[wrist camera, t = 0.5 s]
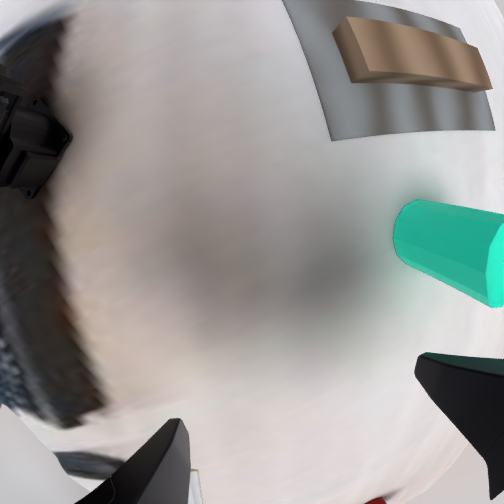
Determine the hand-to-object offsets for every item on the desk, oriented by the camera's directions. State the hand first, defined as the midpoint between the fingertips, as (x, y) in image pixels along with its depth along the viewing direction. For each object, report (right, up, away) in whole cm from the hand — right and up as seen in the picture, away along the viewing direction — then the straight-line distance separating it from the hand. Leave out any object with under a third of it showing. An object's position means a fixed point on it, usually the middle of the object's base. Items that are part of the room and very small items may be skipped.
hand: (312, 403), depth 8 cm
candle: (+13, +7, +13) cm, 20 cm away
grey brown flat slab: (+14, +23, +9) cm, 28 cm away
